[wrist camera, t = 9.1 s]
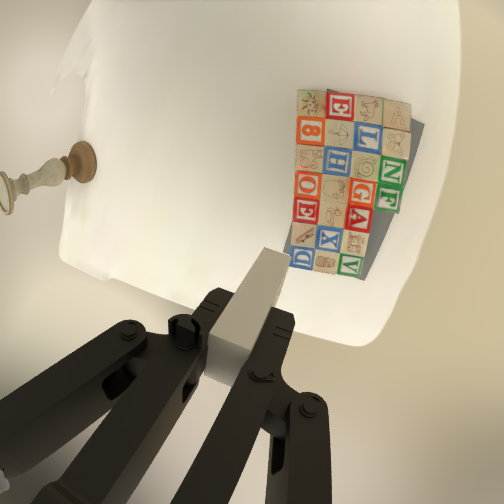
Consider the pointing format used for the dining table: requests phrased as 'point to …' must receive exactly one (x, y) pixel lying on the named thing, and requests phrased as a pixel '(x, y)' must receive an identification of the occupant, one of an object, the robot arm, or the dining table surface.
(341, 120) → the stack of blocks
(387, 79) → the dining table surface
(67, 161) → the candle holder
